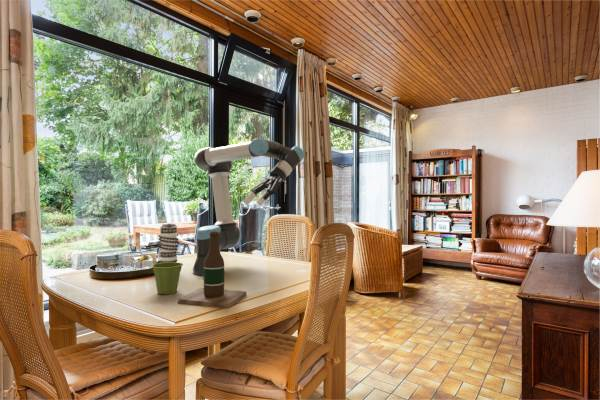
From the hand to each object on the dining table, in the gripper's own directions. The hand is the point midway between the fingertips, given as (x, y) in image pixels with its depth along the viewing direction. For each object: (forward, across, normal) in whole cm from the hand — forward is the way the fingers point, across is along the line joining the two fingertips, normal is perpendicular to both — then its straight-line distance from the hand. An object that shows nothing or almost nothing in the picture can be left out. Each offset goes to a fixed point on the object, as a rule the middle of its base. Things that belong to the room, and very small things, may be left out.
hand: (251, 203), depth 153 cm
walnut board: (+41, -14, -9) cm, 44 cm away
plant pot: (+50, +4, -1) cm, 50 cm away
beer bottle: (+40, -14, -9) cm, 43 cm away
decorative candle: (+45, +37, -6) cm, 58 cm away
